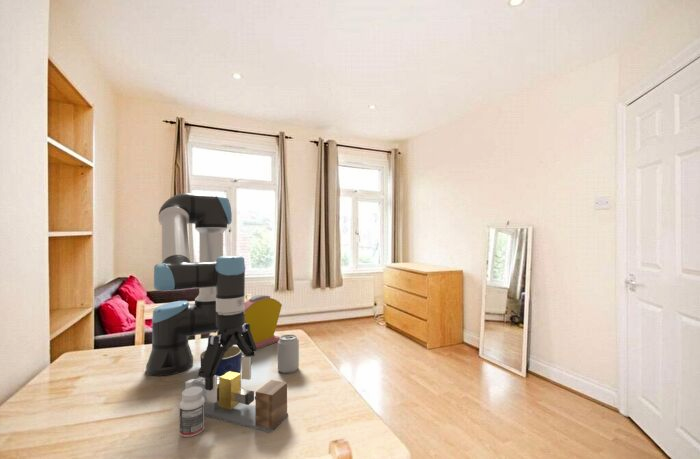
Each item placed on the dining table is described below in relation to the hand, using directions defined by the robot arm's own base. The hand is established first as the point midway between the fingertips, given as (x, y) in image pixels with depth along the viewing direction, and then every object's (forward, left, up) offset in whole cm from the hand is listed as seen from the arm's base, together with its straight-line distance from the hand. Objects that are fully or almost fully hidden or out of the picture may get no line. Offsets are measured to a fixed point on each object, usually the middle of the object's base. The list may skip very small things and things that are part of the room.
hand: (230, 389), depth 87 cm
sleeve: (-7, 0, -6) cm, 10 cm away
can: (+1, +29, -7) cm, 30 cm away
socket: (+13, 0, -6) cm, 15 cm away
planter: (-13, +11, -7) cm, 19 cm away
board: (+2, 0, -6) cm, 7 cm away
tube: (-4, 0, -4) cm, 6 cm away
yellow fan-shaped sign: (-25, +48, -7) cm, 55 cm away
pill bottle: (-3, -10, -7) cm, 12 cm away
